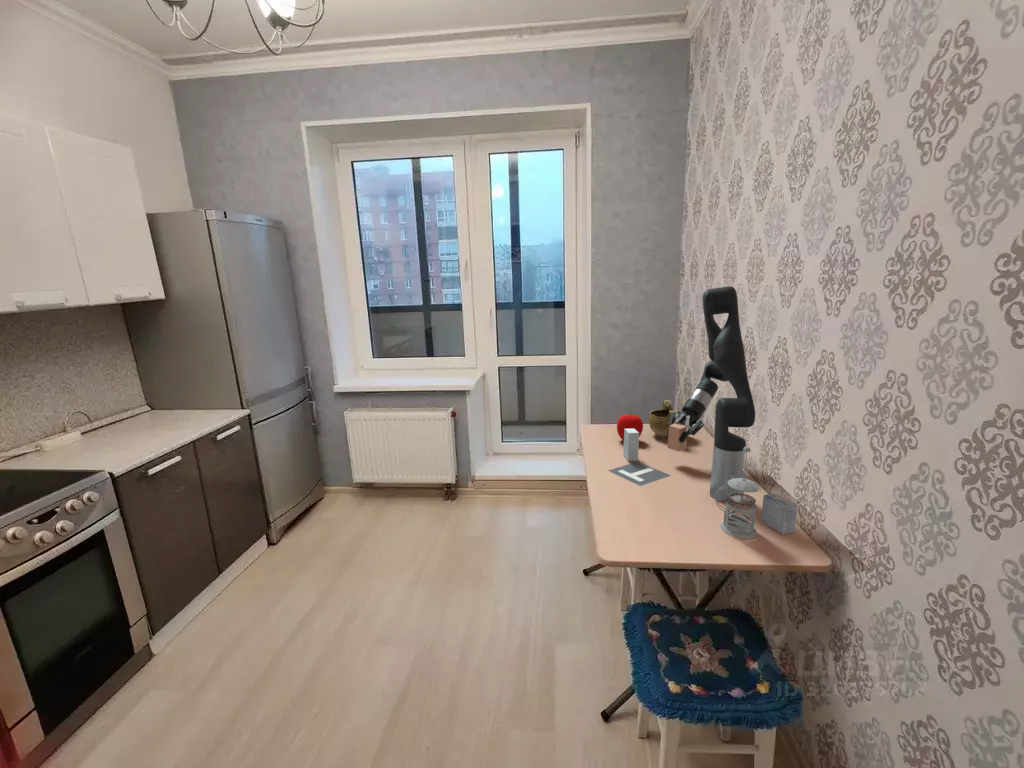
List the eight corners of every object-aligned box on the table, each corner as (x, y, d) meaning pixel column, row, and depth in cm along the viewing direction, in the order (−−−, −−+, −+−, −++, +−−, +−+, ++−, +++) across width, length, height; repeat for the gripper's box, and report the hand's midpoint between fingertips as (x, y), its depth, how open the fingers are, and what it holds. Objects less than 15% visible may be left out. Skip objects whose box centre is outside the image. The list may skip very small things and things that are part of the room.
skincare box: (638, 462, 183) (639, 432, 180) (627, 462, 183) (628, 433, 180) (633, 456, 189) (634, 428, 186) (622, 456, 189) (623, 428, 186)
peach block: (686, 448, 177) (688, 426, 175) (677, 451, 175) (679, 428, 173) (675, 445, 181) (677, 423, 179) (667, 447, 179) (669, 425, 177)
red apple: (619, 446, 201) (620, 417, 198) (613, 437, 211) (615, 410, 208) (645, 445, 201) (647, 417, 198) (638, 437, 211) (640, 410, 208)
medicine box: (794, 532, 132) (798, 504, 130) (782, 535, 130) (785, 506, 128) (772, 519, 139) (775, 492, 137) (760, 521, 138) (763, 494, 136)
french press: (756, 542, 127) (767, 455, 121) (711, 531, 133) (718, 448, 127) (758, 525, 135) (768, 444, 130) (715, 516, 141) (722, 437, 135)
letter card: (671, 476, 169) (671, 475, 169) (640, 487, 161) (640, 485, 161) (637, 462, 183) (637, 461, 182) (607, 471, 174) (607, 470, 174)
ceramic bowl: (691, 446, 199) (694, 412, 196) (650, 444, 203) (652, 410, 199) (682, 430, 221) (685, 399, 218) (645, 428, 224) (647, 398, 221)
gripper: (677, 394, 184) (655, 428, 180) (710, 402, 172) (686, 439, 168) (685, 405, 188) (663, 439, 184) (717, 413, 176) (694, 450, 172)
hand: (674, 439), depth 176 cm, fingers closed on peach block, 4 cm apart
